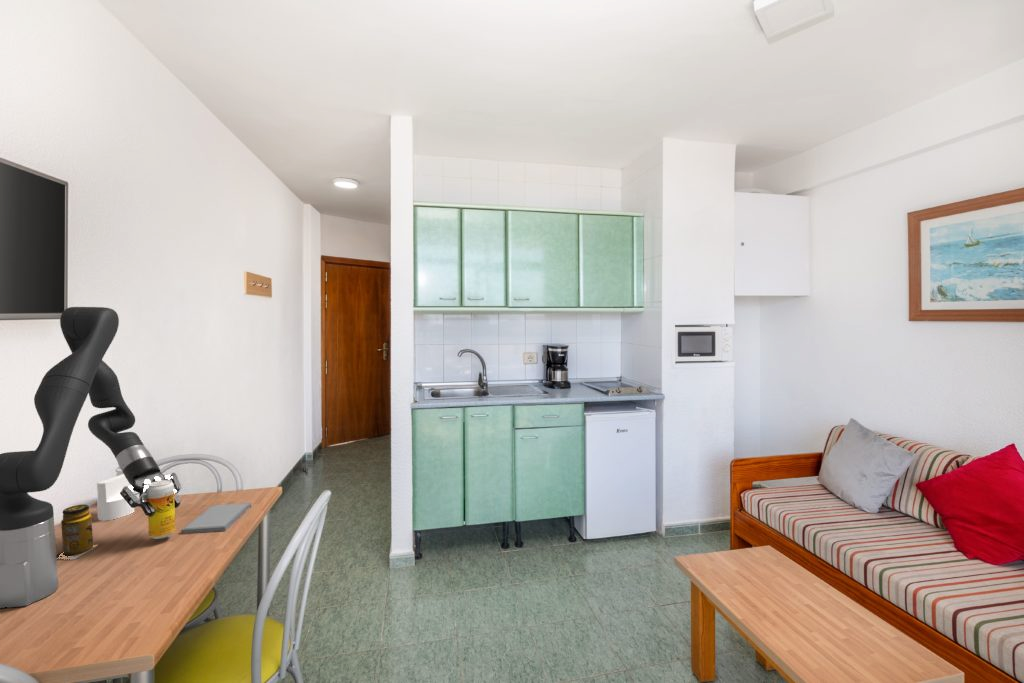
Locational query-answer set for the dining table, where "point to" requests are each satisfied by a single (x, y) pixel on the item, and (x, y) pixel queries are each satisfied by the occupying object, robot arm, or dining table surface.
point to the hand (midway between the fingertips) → (165, 510)
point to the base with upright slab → (112, 499)
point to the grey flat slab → (216, 518)
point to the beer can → (161, 509)
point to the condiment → (76, 531)
